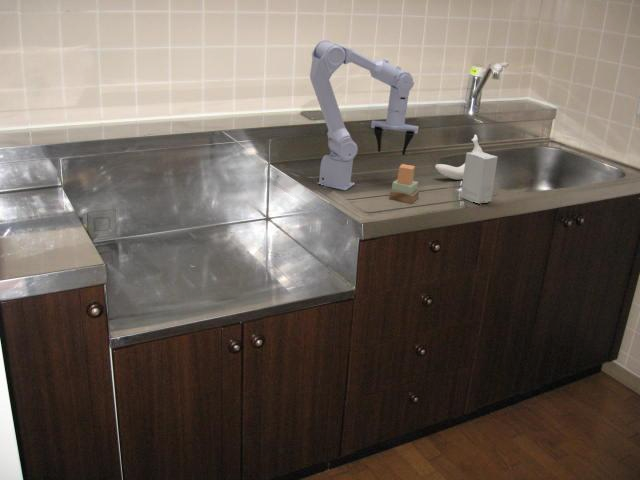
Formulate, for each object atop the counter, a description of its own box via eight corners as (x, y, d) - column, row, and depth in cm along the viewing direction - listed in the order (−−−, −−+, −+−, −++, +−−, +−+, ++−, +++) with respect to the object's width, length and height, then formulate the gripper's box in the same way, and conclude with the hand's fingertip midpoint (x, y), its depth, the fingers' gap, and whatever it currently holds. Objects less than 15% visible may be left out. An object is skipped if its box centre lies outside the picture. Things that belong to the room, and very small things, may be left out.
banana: (432, 179, 236) (439, 136, 230) (471, 173, 247) (478, 133, 241) (442, 183, 232) (449, 140, 227) (481, 178, 243) (489, 136, 237)
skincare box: (491, 203, 218) (500, 157, 212) (477, 205, 215) (486, 158, 209) (472, 194, 224) (480, 149, 218) (458, 196, 221) (466, 151, 215)
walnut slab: (389, 200, 213) (390, 191, 212) (396, 194, 219) (397, 185, 218) (411, 205, 210) (412, 196, 209) (417, 199, 216) (419, 190, 215)
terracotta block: (396, 183, 211) (399, 167, 209) (399, 179, 215) (402, 163, 213) (409, 185, 210) (412, 169, 208) (412, 181, 214) (415, 166, 212)
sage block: (391, 190, 212) (392, 182, 211) (398, 185, 217) (399, 177, 216) (410, 194, 210) (411, 186, 209) (416, 189, 215) (418, 182, 214)
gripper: (372, 109, 215) (367, 152, 220) (420, 115, 213) (413, 158, 218) (374, 105, 221) (369, 147, 226) (420, 111, 219) (414, 153, 225)
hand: (391, 152), depth 223 cm, fingers open, 7 cm apart
